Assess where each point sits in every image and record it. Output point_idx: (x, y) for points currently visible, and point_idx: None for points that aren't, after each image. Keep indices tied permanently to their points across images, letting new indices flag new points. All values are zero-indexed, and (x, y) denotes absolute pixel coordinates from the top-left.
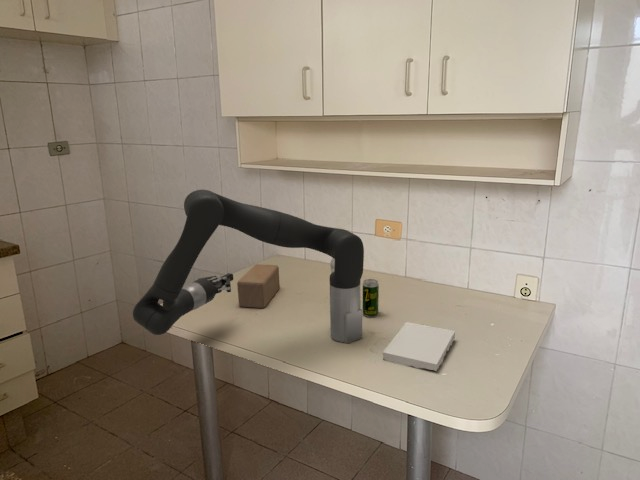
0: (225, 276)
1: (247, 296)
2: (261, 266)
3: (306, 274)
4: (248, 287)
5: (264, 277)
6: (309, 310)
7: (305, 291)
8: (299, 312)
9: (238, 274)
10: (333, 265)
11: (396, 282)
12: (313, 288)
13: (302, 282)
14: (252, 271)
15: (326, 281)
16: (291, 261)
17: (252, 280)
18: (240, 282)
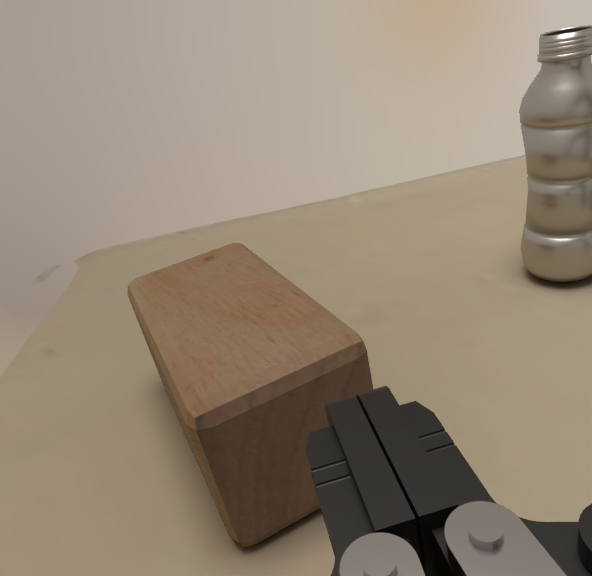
0: (426, 496)
1: (287, 468)
2: (178, 274)
3: (261, 258)
4: (283, 412)
5: (306, 306)
6: (570, 357)
7: (373, 300)
8: (564, 390)
9: (12, 370)
10: (582, 109)
11: (522, 172)
12: (374, 279)
13: (299, 281)
14: (178, 312)
15: (361, 246)
16: (150, 251)
17: (280, 355)
18: (218, 410)
